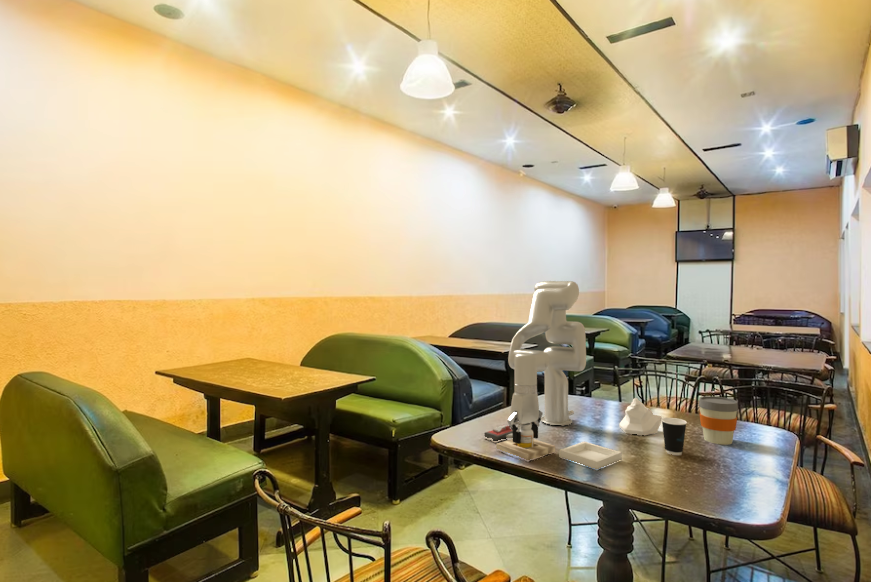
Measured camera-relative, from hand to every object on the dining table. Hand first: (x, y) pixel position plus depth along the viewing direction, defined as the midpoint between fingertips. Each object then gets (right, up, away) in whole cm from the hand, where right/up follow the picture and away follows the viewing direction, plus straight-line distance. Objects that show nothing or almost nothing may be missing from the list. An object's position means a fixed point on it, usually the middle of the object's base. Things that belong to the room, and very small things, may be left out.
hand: (525, 439), depth 163 cm
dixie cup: (+50, -4, -1) cm, 51 cm away
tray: (+20, -4, -7) cm, 22 cm away
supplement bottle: (0, -4, 0) cm, 4 cm away
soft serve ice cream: (+49, -4, +24) cm, 55 cm away
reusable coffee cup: (+73, -4, +13) cm, 74 cm away
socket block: (0, -4, 0) cm, 4 cm away
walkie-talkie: (-4, -5, +17) cm, 18 cm away
